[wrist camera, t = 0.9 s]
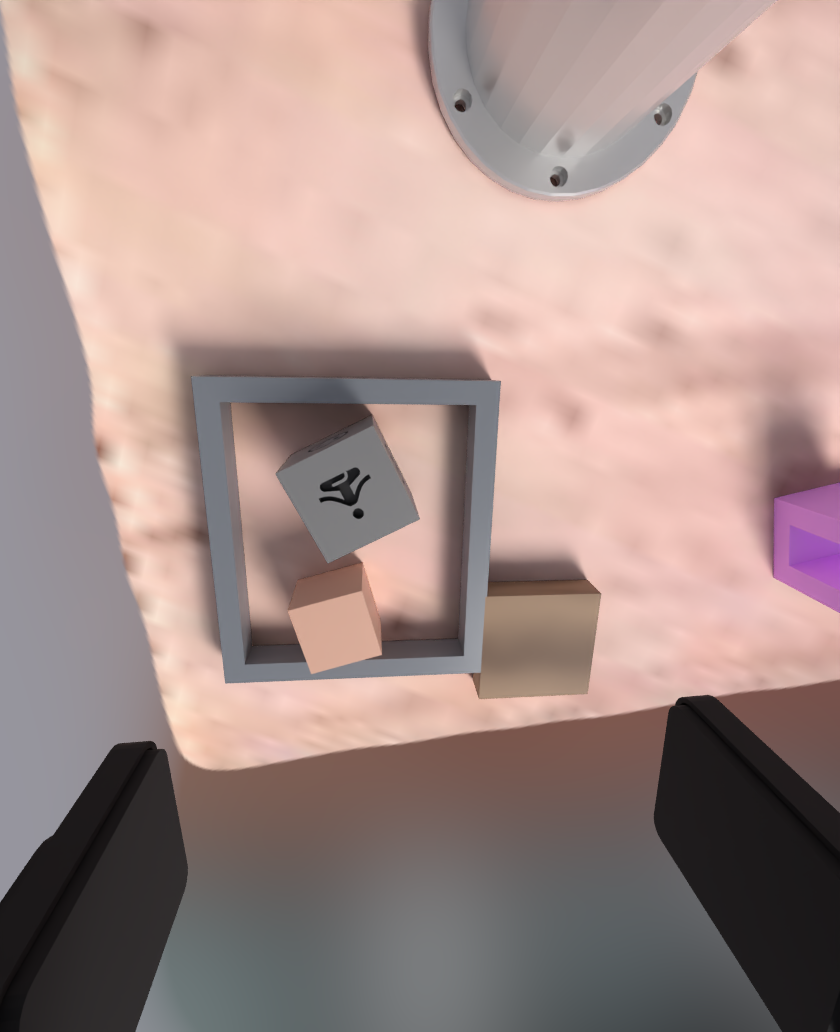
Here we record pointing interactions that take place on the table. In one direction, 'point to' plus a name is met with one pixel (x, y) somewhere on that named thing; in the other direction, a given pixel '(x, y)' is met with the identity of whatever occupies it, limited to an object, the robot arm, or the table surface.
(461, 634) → the gray rectangular frame
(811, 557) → the bracket
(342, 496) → the dice cube
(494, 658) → the tan block
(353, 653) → the terracotta block
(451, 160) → the table surface
